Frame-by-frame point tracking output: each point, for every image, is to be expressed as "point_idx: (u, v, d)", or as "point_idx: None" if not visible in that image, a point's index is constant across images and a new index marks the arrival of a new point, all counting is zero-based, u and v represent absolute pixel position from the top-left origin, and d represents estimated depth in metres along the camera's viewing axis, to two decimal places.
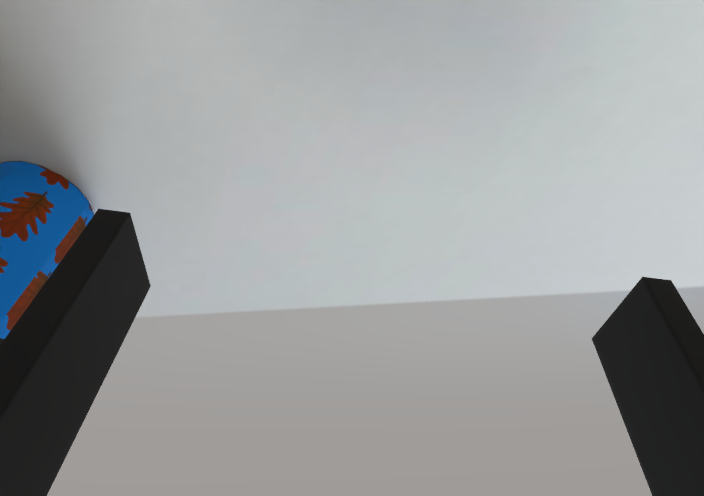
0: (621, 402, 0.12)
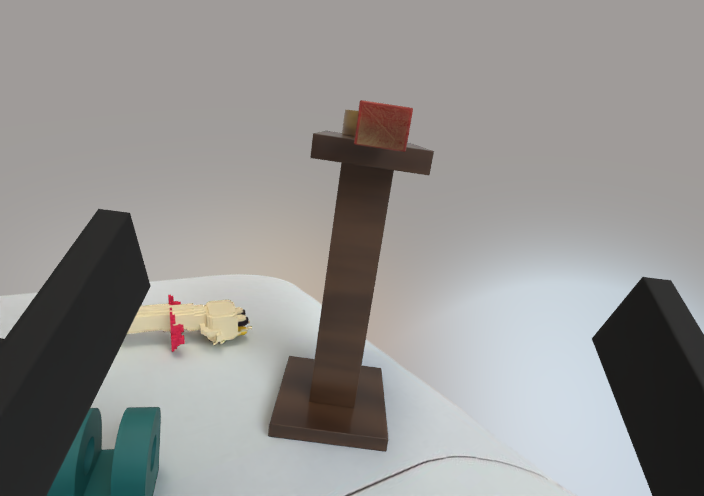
0: (621, 402, 0.12)
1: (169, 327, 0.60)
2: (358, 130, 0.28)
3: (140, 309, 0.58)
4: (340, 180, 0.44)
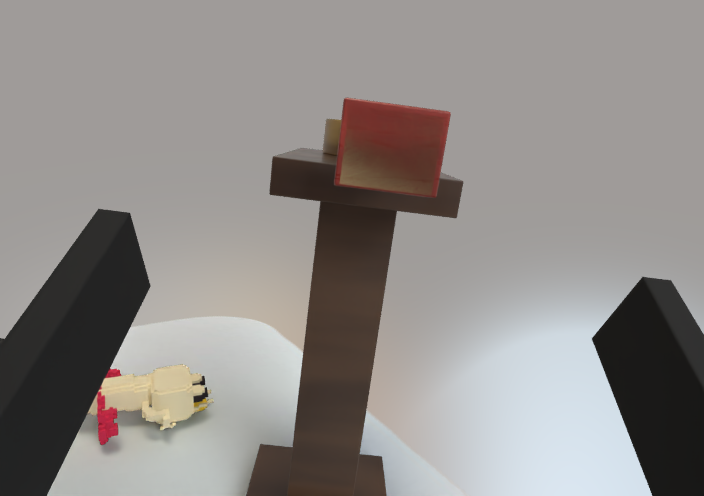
0: (622, 402, 0.12)
1: None
2: (343, 158, 0.14)
3: None
4: (320, 221, 0.30)
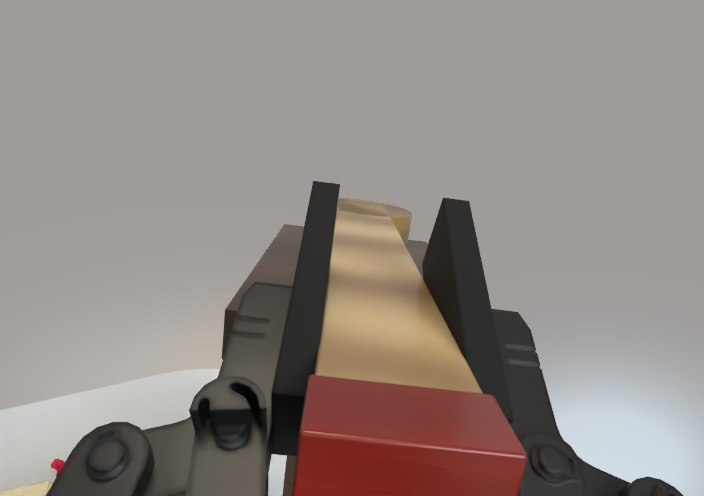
0: None
1: None
2: None
3: None
4: None
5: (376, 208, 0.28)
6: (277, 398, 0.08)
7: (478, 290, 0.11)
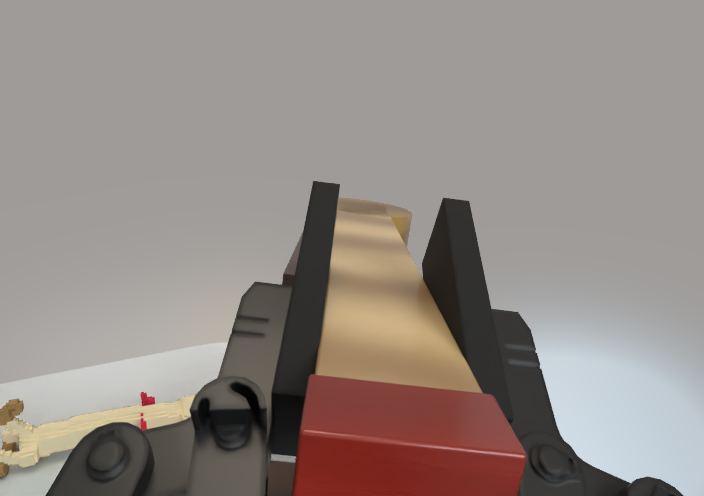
0: None
1: None
2: None
3: (109, 415, 0.55)
4: None
5: (376, 208, 0.28)
6: (277, 398, 0.08)
7: (478, 290, 0.11)
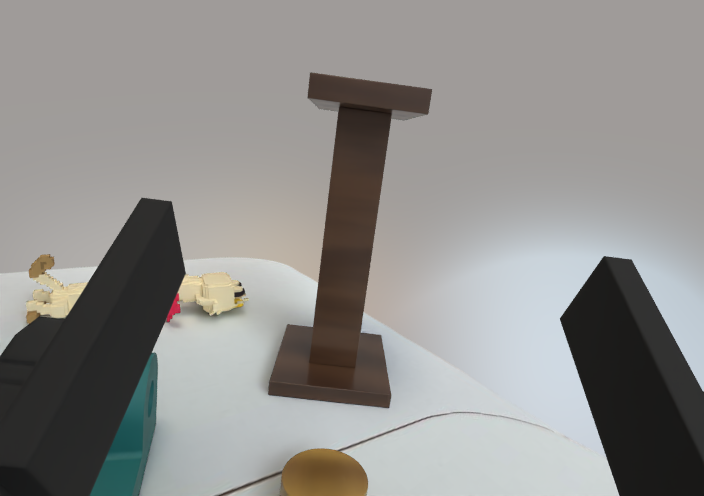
0: (584, 377, 0.12)
1: None
2: None
3: None
4: (337, 129, 0.44)
5: (337, 479, 0.32)
6: None
7: (684, 373, 0.10)
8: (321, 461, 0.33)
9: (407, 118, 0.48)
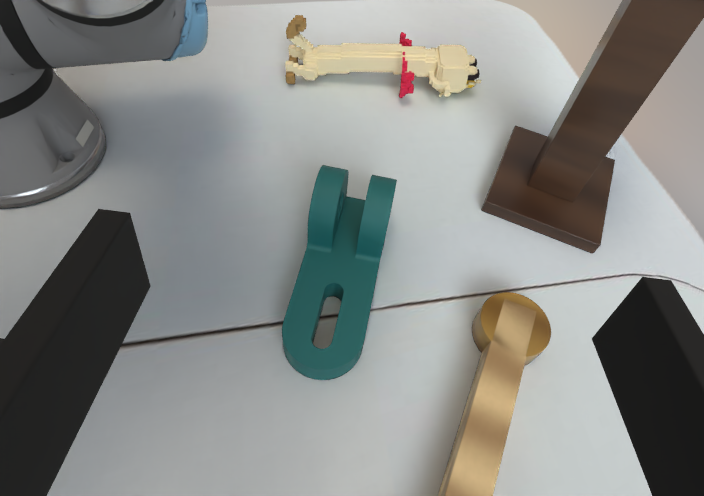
0: (622, 402, 0.12)
1: (399, 71, 0.59)
2: None
3: (374, 48, 0.57)
4: None
5: (525, 328, 0.39)
6: None
7: None
8: (515, 307, 0.40)
9: None
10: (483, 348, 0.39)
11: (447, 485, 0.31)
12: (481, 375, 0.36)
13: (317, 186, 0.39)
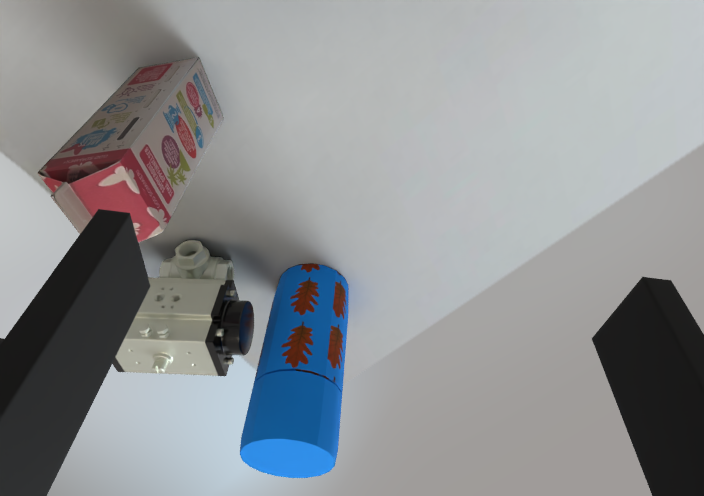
0: (622, 402, 0.12)
1: None
2: None
3: None
4: None
5: None
6: None
7: None
8: None
9: None
10: None
11: None
12: None
13: None
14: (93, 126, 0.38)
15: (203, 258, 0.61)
